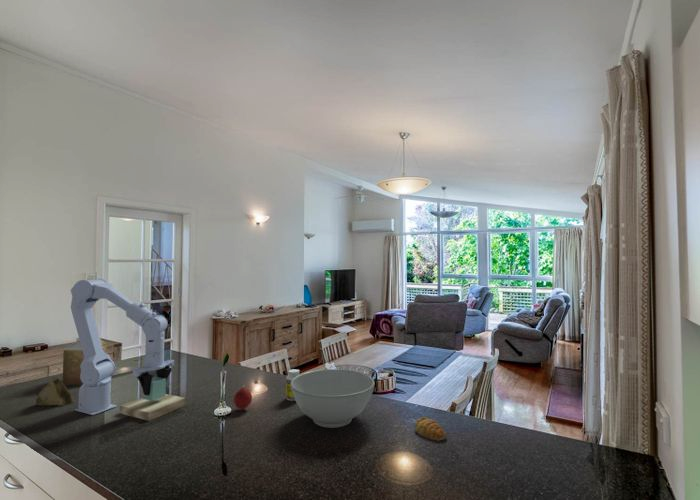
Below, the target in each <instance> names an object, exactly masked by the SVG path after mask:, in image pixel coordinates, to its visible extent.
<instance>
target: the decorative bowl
mask: <svg viewBox="0 0 700 500" xmlns="http://www.w3.org/2000/svg"><path fill="white" fill-rule="evenodd" d="M375 383H376V382H375V380H374V379H373V377H372V376H370V375H368V374H366V373H363V372H359V371H355V370H352V369H351V370H350V369H339V368H337V369H336V368H334V369H333V368H332V369H331V368H329V369H327V368H326V369H317V370H312V371H307V372H303V373H301V374H299V375H298V376H297V377H295V378H294V379H293V380H292V381H291V390H292V393H293V396H294V398H295V400H296V401H295V402H296V404H297V406H298V407H299V408H300V410H301V411H302V413H304V414H305V415H306V416H307V417H309V419H312V420H313V423H314V424H316V425H317V426H319V427H322V428H332V429H333V428H340V427H344V426H347V425H349V424H350V423H352V419H355V417H357V416H358V415H359V414H361V412H362V411H364V409H365V408H366V406H367V405H368V404H369V401H370V400H371V398H372V395H373V392H374V389H375Z"/></svg>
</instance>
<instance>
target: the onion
mask: <svg viewBox="0 0 700 500" xmlns="http://www.w3.org/2000/svg"><path fill="white" fill-rule="evenodd" d="M252 399H253V395H252V393H251V391H250V390H249V389H247V388H246V385H243V386H241V388H240V389H238V391H236V392H235V394H234V397H233V402H234V405H235V406H236V407H237V408H238V409H239V410H242V411H244V410H246V409H247V408H248V407H249V406H250V405H251V403H252Z"/></svg>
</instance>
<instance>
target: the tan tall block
mask: <svg viewBox="0 0 700 500" xmlns="http://www.w3.org/2000/svg"><path fill="white" fill-rule="evenodd" d="M100 341H101V344H102V348H103V351H104V352H105V353H107V347H108V346H107V344H108V343H106V342H105V341H104V340H102V339H101V338H100ZM62 351H63V353H62V354H63V355H62V358H63V359H62V381H61V382H62V383H63V384H77V385H76V386H82V385H83V383H82V381H81V379H80V374H81V368H80V365H81V363H82V361H83V360H84V354H83V350H82V347H81V343H80V340H79V336H78V337H76V339H75V341H74V342H73V343H71V344H69V345H67V346H66V347H65V348H64V349H63V350H62ZM96 364H97V363H96Z"/></svg>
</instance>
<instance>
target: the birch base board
mask: <svg viewBox="0 0 700 500" xmlns="http://www.w3.org/2000/svg"><path fill="white" fill-rule="evenodd" d="M186 398H187V397H183V396H178V395H173V394H167V393H166V396H165V397H162V398H159V399H157V400H154V401H150V400H146V399H142V397H140V398H137V399H135V400H132V401H129V402H126V403H123V404H121V405H120V406H119V414H120V415H125V416H129V417H132V418H136V419H141V420H144V421H148V422H150V421H152V420H155V419H158V418H159V417H162V416H163V415H165V414H168V413H170V412H173V411H176V410H177V409H180V408H182V407H185V406H186V401H187V400H186Z"/></svg>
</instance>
